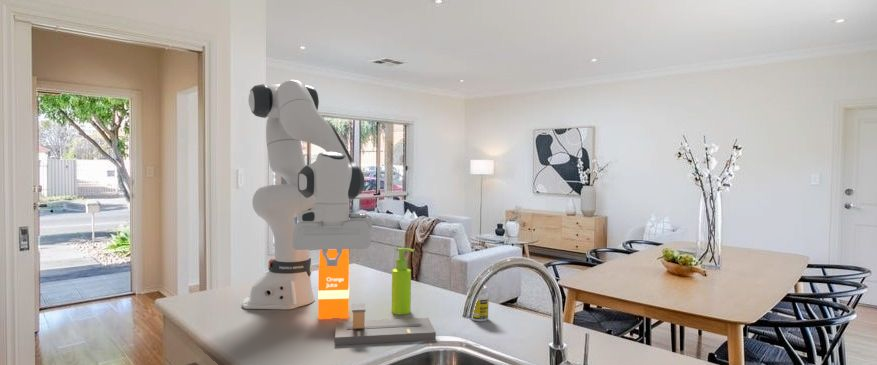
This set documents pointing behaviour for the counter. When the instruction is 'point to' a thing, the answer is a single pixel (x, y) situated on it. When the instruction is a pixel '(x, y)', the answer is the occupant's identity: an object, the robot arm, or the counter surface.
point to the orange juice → (333, 286)
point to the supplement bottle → (481, 306)
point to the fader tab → (358, 315)
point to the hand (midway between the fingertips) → (332, 265)
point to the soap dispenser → (401, 285)
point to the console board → (385, 331)
